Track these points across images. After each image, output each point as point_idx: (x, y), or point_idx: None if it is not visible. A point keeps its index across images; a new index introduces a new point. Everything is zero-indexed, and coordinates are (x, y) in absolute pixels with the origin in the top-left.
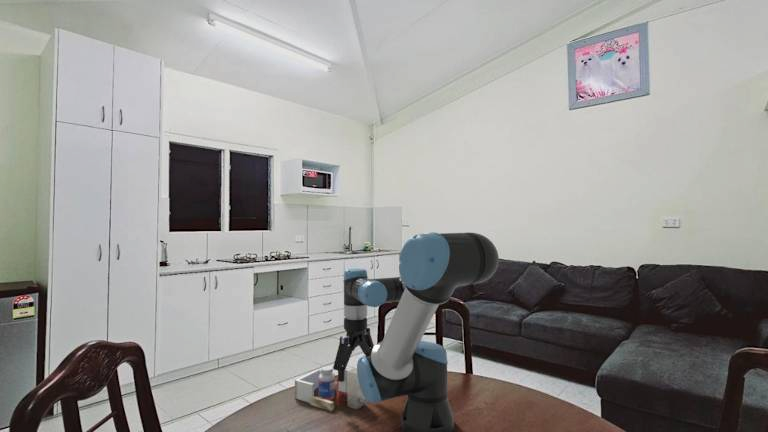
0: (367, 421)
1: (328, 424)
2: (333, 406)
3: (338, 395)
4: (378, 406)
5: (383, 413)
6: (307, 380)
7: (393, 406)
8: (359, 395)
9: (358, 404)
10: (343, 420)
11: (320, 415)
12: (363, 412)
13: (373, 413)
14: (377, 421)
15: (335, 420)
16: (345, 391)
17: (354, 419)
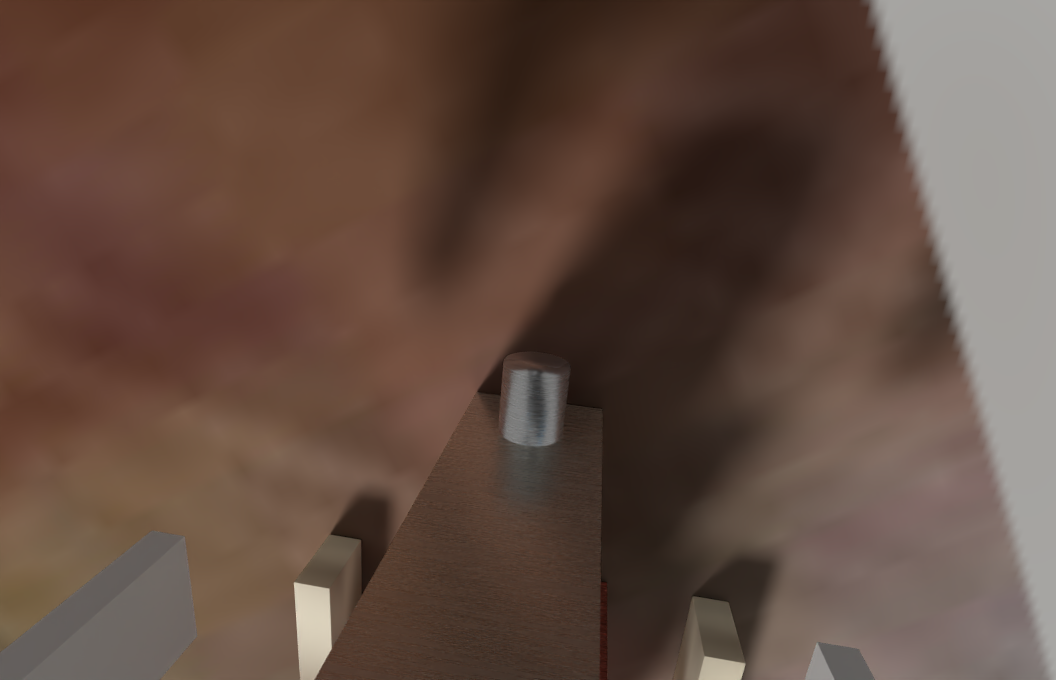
0: (820, 199)
1: (987, 526)
2: (699, 619)
3: (605, 670)
4: (453, 242)
5: (578, 112)
6: None
7: (376, 79)
8: (559, 471)
9: (584, 426)
10: (869, 436)
11: None
12: (640, 329)
13: (621, 221)
14: (786, 88)
15: (890, 501)
16: (862, 663)
17: (817, 347)
